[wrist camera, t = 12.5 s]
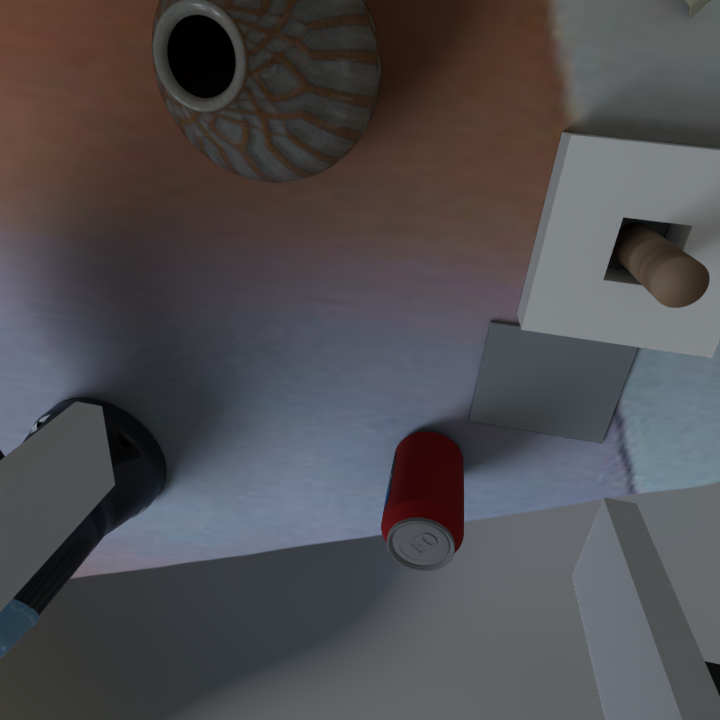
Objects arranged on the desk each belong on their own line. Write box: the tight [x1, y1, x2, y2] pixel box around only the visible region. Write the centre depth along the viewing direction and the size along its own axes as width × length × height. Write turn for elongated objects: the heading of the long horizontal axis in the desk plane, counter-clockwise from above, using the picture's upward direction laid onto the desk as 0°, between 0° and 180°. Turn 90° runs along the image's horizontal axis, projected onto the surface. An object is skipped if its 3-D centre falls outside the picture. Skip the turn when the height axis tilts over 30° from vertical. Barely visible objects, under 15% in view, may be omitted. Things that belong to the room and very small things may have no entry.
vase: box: [152, 0, 382, 183], centre depth 30 cm, size 13×13×18 cm
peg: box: [612, 223, 710, 308], centre depth 35 cm, size 3×3×10 cm
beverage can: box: [381, 432, 464, 571], centre depth 46 cm, size 7×7×12 cm
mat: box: [469, 321, 638, 443], centre depth 45 cm, size 12×10×1 cm
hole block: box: [517, 132, 720, 358], centre depth 38 cm, size 14×14×4 cm
